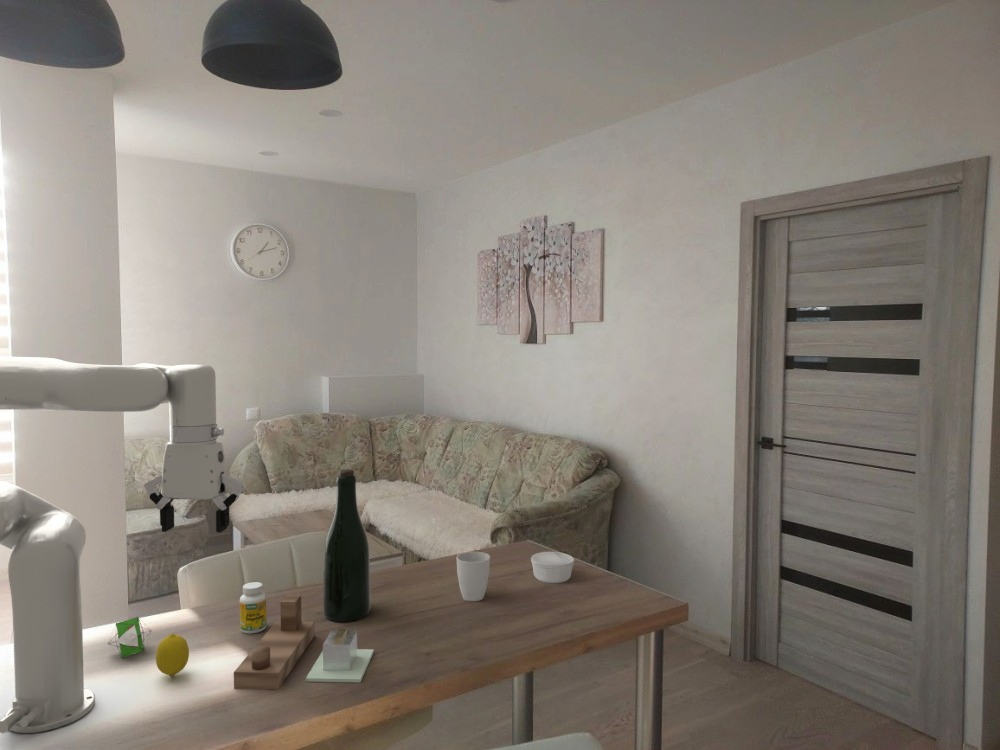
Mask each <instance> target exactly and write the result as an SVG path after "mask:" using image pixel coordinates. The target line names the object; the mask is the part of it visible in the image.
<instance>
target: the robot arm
mask: <svg viewBox="0 0 1000 750" xmlns="http://www.w3.org/2000/svg"><path fill="white" fill-rule="evenodd" d="M216 381H217V380H216V371H215V368H214V367H212V366H211V365H209V364H177V365H161V364H153V363H137V364H134V365H125V364H124V365H121V364H119V365H115V364H113V365H112V364H93V363H92V364H90V363H77V362H70V361H67V360H62V359H59V358H52V357H51V358H50V357H43V356H42V357H37V356H36V357H34V356H33V357H31V356H29V357H28V356H5V355H4V356H1V355H0V410H24V411H25V410H26V411H55V412H59V411H60V412H63V411H76V412H79V411H81V412H107V413H109V412H110V413H111V412H121V413H122V412H123V413H124V412H127V413H128V412H129V413H130V412H132V413H133V412H146V411H151V410H153V409H156V408H157V407H159V406H160V405H161V404H163V405H164V404H168V407H169V408H168V409H169V441H168V442H166V444H165V450H164V454H163V460H162V461H163V462H162V470H161V471H162V472H161V474H160V475H159V476H157V477H155V478H153V479H151V480H149V481H148V482H146V483H144V488H145V491H146V492H147V494H148V495H149V499H150V500H151V501H152V502H153V503H154V504H155V505H156V509H158V510H159V524H160V527H161V532H164V533H165V532H169V530H171V529H173V528H175V506H174V505H173V504H172V503H173V502H174V501H175V500H197V501H198V500H202V501H203V500H211V501H212V502H213V503H214V504H215V505H216V507H218V508H217V510H216V511H215V531H216V532H217V533H219V534H220V533H222V532H224V531H226V529H228V527H229V525H230V507H231V506H232V505H233V504H234V503H235V502H236V501H237V500H238V499H239V497H240V495H241V493H242V491H243V489H244V487H245V484H244V483H243V482H242V481H240V480H238V479H236V478H233V477H231V476H230V475H228V471H227V463H226V455H225V451H224V447H223V442H222V440H217V439H218V437H220V436H221V437H223V436H224V434H225V430H224V428H222V427H221V428H220V427H218V423H217V397H216V396H217V395H216V394H217V391H216V390H217V388H216V387H217V385H216ZM160 484H161V491H162V493H161V492H160V491H158V490H159V489H158V486H159V485H160ZM229 487H230V488H231V493H230V495H227V494H226V493H227V492H228V488H229ZM86 538H87V537H86V530H85V527H84V526H83V523H82V522H81V521H80V520H79V519H78V518H77V517H75V516H74V515H73V514H71V513H70V512H68V511H66V510H64V509H62V508H60V507H59V506H57V505H55V504H53V503H51V502H49V501H47V500H45V499H44V498H41V497H40V496H38V495H36V494H33V493H32V492H30V491H28V490H26V489H24V488H23V487H20V486H18V485H16V484H12V483H9V482H7V481H1V480H0V545H2V546H4V547H6V548H8V549H10V553H9V557H8V562H7V575H8V583H9V587H10V588H9V589H10V597H11V598H10V599H11V609H12V611H11V612H12V630H13V633H12V634H13V657H14V658H13V659H14V662H13V663H14V687H15V688H14V689H15V690H14V691H15V693H14V695H15V696H14V697H15V699H13V700H12V706H11V707H10V709H8V710H7V711H6V712H5V715H4V717H3V718H2V719H0V733H1V734H6V732H8V731H10V732H14V733H19V734H20V733H21V734H33V733H41V732H46V731H50V730H55V729H57V728H61V727H64V726H66V725H69V724H71V723H74V722H75V721H77V720H79V719H81V718H82V717H84V716H85V715H87V714H88V713H89V712H90V711H91V710H92V709H93V708H94V706H95V702H96V697H95V696H96V695H95V693H94V692H93V691H92V690H91V689H88V688H85V687H84V684H85V683H84V682H85V681H84V680H85V679H84V677H85V676H84V642H83V639H84V638H83V610H82V609H83V607H82V590H81V587H82V586H81V574H80V566H81V565H80V564H81V563H80V561H81V556H82V553H83V550H84V547H85V544H86Z"/></svg>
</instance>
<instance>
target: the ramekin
mask: <svg viewBox="0 0 1000 750" xmlns="http://www.w3.org/2000/svg"><path fill="white" fill-rule="evenodd" d="M530 561H531V564H532V571H533V576H534V577H535V578H536V580H538V581H539V582H543V583H547V584H559V583H565V582H567V581H569V580H570V578H571V576H572V571H573V566H574V564H575V558H574V557H573V556H572V555H570V554H567V553H563V552H559V551H542V552H537V553H535V554H533V555H532V556H531V557H530Z"/></svg>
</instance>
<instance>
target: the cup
mask: <svg viewBox="0 0 1000 750" xmlns="http://www.w3.org/2000/svg"><path fill="white" fill-rule="evenodd" d="M490 559H491V555H490V554H488V553H486V552H481V551H465V552H462V553H459V554H457V555H456V574H457V579H458V584H459V591H460V593H461V596H462V599H463V600H464V601H468V602H479V601H481V600H483V599H484V598H485V594H486V591H487V587H488V584H489V583H488V582H489V577H490V563H491V562H490V561H491V560H490Z"/></svg>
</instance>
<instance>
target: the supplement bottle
mask: <svg viewBox="0 0 1000 750" xmlns="http://www.w3.org/2000/svg"><path fill="white" fill-rule="evenodd" d="M263 590H264V588H263V583H262V582H258V581H257V582H255V581H254V582H253V581H252V582H248V583H245V584H243V586H242V593H243V594H242V595H241V596H240V598H239V623H240V626H239V628H240V631H241V632H242V633H244V634H249V635H251V634H257V633H260V632H262V631H265V630H266V628H267V625H268V624H267V618H268V617H267V595H266V594H265V592H263Z"/></svg>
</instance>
